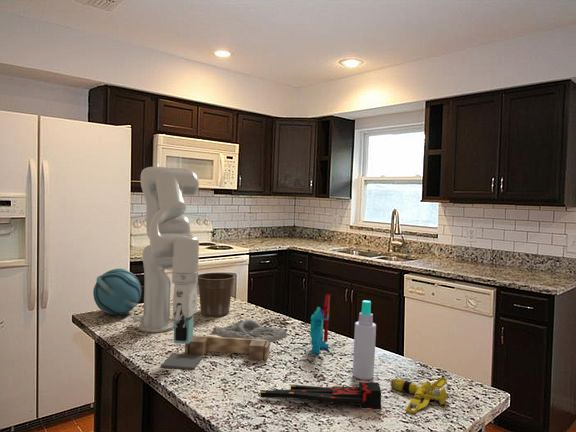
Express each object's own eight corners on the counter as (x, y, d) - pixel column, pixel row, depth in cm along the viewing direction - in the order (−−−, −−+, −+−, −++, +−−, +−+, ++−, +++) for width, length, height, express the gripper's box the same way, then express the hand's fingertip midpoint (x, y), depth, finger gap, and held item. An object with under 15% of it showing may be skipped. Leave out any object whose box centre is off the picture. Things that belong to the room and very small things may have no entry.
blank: (173, 342, 132) (174, 319, 132) (178, 338, 137) (179, 315, 136) (188, 343, 132) (189, 320, 131) (192, 339, 136) (193, 316, 136)
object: (188, 311, 191) (189, 274, 190) (219, 306, 202) (220, 271, 201) (208, 320, 179) (210, 280, 179) (241, 314, 190) (242, 276, 190)
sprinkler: (403, 363, 129) (456, 376, 120) (403, 376, 130) (456, 390, 121) (373, 394, 114) (432, 412, 105) (374, 409, 114) (432, 427, 105)
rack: (184, 355, 140) (185, 341, 140) (190, 348, 146) (191, 335, 146) (266, 361, 138) (267, 347, 138) (269, 353, 144) (269, 340, 144)
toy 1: (149, 282, 196) (111, 256, 189) (154, 292, 178) (113, 264, 171) (121, 317, 192) (82, 292, 186) (124, 330, 175) (81, 303, 168)
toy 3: (259, 410, 111) (382, 412, 108) (259, 390, 110) (381, 392, 108) (263, 395, 119) (377, 397, 117) (263, 377, 119) (377, 378, 116)
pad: (160, 367, 130) (160, 365, 130) (172, 355, 140) (172, 353, 140) (194, 369, 129) (194, 367, 129) (203, 357, 139) (203, 355, 139)
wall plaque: (290, 336, 164) (290, 326, 164) (255, 349, 150) (255, 338, 149) (244, 323, 179) (244, 313, 179) (208, 333, 164) (208, 323, 164)
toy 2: (324, 326, 136) (330, 289, 147) (305, 324, 137) (312, 288, 149) (326, 361, 148) (331, 324, 159) (309, 359, 149) (315, 322, 160)
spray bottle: (348, 373, 131) (352, 299, 130) (365, 370, 134) (369, 298, 133) (360, 381, 126) (363, 304, 125) (377, 378, 128) (381, 303, 127)
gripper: (189, 283, 125) (187, 347, 125) (204, 273, 142) (203, 330, 142) (162, 282, 125) (161, 346, 126) (181, 272, 142) (180, 329, 143)
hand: (183, 337), depth 134 cm, fingers closed on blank, 4 cm apart
